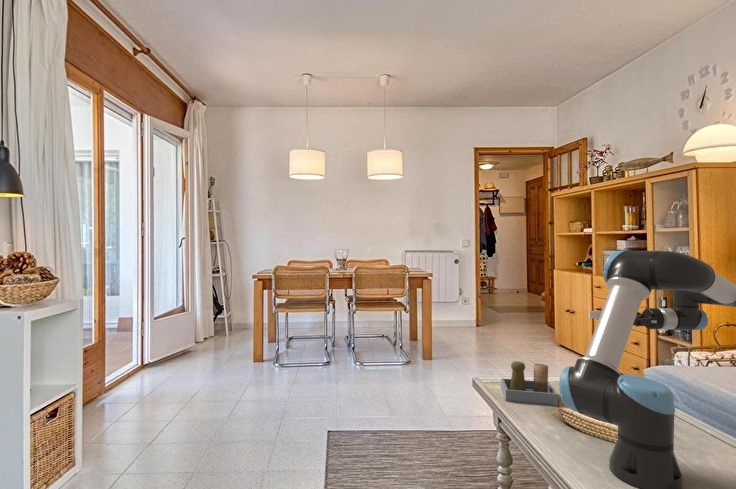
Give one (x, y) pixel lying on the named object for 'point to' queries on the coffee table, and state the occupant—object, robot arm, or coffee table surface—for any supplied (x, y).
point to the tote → (528, 393)
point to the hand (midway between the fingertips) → (598, 317)
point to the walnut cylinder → (540, 378)
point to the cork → (517, 376)
